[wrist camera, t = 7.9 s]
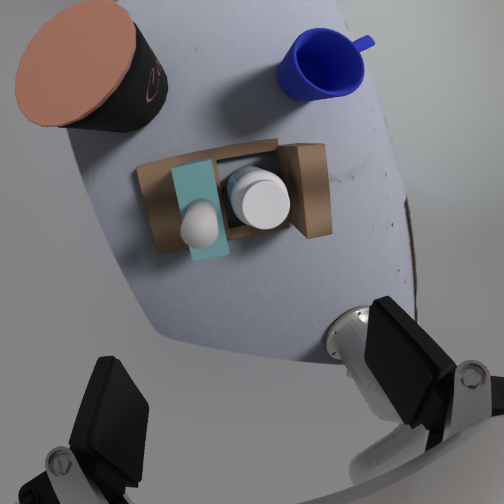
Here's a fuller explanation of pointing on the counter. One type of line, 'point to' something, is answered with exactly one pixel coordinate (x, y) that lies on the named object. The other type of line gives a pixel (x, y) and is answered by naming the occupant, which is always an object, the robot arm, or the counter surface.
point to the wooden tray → (167, 207)
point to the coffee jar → (90, 71)
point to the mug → (323, 65)
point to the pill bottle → (258, 197)
